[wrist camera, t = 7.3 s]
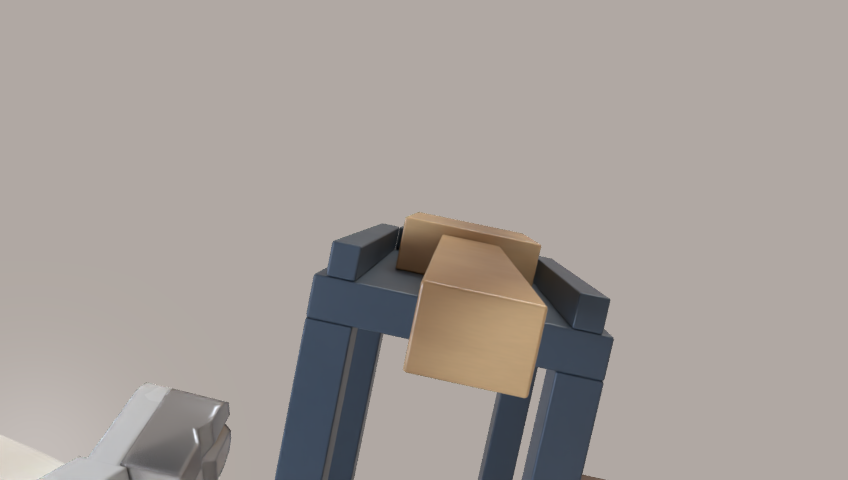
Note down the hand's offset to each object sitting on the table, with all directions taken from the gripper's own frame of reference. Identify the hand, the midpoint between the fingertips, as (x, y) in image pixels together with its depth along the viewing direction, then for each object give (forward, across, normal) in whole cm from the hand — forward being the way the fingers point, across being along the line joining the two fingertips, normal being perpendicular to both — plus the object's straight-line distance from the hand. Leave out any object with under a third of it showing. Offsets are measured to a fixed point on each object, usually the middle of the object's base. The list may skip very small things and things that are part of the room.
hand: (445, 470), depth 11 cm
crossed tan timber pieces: (+10, 0, +4) cm, 11 cm away
